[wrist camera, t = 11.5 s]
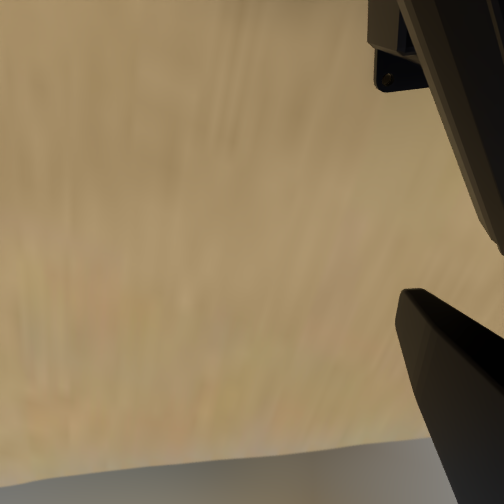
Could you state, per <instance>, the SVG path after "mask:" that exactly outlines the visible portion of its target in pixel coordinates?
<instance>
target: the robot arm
mask: <svg viewBox="0 0 504 504" xmlns="http://www.w3.org/2000/svg"><path fill="white" fill-rule="evenodd" d="M367 42H368V43H369V44H370V45H371V46H372V47H373V48H375V58H374V85H375V86H376V88H377V89H378V90H380V91H382V92H395V91H403V90H411V89H419V88H427V87H429V88H430V91H431V93H432V96H433V99H434V101H435V104H436V107H437V109H438V112H439V115H440V117H441V120H442V123H443V125H444V128H445V131H446V133H447V136H448V139H449V141H450V144H451V147H452V149H453V152H454V155H455V157H456V160H457V163H458V165H459V168H460V171H461V173H462V176H463V179H464V181H465V184H466V187H467V189H468V192H469V195H470V197H471V200H472V203H473V205H474V208H475V211H476V213H477V216H478V219H479V221H480V222H481V224H482V225H483V227H484V229H485V230H486V232H487V233H488V235H489V237H490V238H491V240H493V241H494V242H495V243H496V244H497V246H498V249H499V251H500V253H501V254H502V255H503V256H504V0H368V33H367ZM388 73H389V74H391V81H390V82H389V83H388V84H386V85H383V84H382V79H383V77H384V76H385V75H386V74H388ZM395 327H396V332H397V335H398V339H399V342H400V346H401V350H402V353H403V357H404V361H405V364H406V368H407V371H408V375H409V379H410V382H411V386H412V389H413V392H414V395H415V398H416V401H417V403H418V406H419V409H420V411H421V413H422V416H423V418H424V421H425V423H426V426H427V428H428V431H429V433H430V436H431V438H432V441H433V443H434V445H435V448H436V450H437V453H438V455H439V457H440V460H441V463H442V465H443V468H444V470H445V472H446V475H447V477H448V480H449V482H450V485H451V487H452V490H453V492H454V494H455V497H456V499H457V502H458V504H504V339H503V338H502V337H500V336H499V335H497V334H495V333H494V332H492V331H491V330H489V329H487V328H486V327H484V326H483V325H481V324H479V323H478V322H476V321H474V320H473V319H471V318H470V317H468V316H466V315H465V314H463V313H462V312H460V311H458V310H457V309H455V308H454V307H452V306H450V305H449V304H447V303H446V302H444V301H442V300H441V299H439V298H438V297H436V296H434V295H433V294H431V293H430V292H428V291H426V290H424V289H422V288H412V289H404V290H402V291H401V293H400V297H399V302H398V307H397V313H396V318H395Z"/></svg>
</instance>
